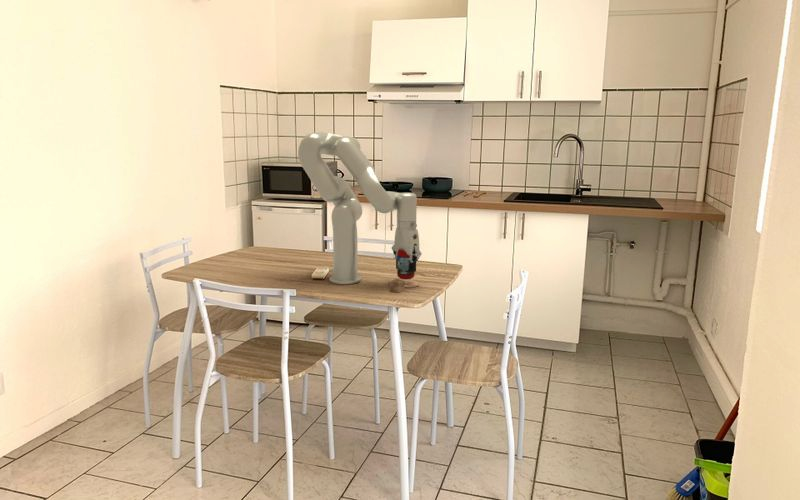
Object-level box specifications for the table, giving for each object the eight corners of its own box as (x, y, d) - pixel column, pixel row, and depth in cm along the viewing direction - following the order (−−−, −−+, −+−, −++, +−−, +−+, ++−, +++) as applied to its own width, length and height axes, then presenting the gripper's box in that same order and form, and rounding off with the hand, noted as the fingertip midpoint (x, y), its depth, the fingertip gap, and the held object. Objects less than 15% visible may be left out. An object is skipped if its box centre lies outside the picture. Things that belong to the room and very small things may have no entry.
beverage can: (395, 279, 229) (395, 249, 227) (399, 275, 236) (399, 245, 233) (412, 280, 228) (413, 250, 226) (415, 276, 235) (416, 246, 232)
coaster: (387, 283, 233) (387, 282, 233) (406, 279, 239) (406, 278, 239) (404, 289, 226) (404, 287, 225) (423, 284, 232) (423, 283, 232)
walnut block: (389, 291, 222) (389, 281, 221) (394, 289, 226) (394, 279, 225) (399, 293, 220) (399, 282, 219) (404, 290, 224) (404, 280, 223)
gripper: (429, 227, 224) (428, 272, 227) (398, 221, 236) (398, 264, 240) (415, 229, 219) (414, 275, 223) (384, 223, 231) (384, 267, 235)
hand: (405, 269), depth 231 cm, fingers closed on beverage can, 6 cm apart
